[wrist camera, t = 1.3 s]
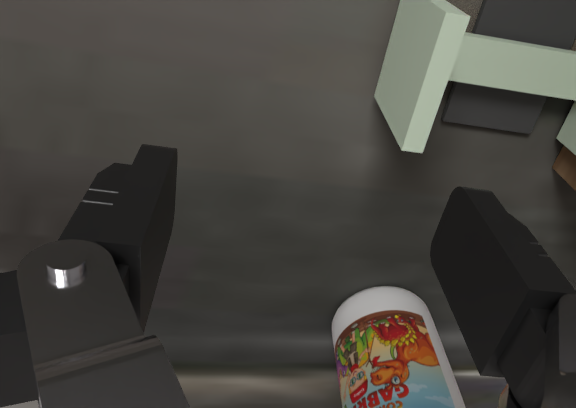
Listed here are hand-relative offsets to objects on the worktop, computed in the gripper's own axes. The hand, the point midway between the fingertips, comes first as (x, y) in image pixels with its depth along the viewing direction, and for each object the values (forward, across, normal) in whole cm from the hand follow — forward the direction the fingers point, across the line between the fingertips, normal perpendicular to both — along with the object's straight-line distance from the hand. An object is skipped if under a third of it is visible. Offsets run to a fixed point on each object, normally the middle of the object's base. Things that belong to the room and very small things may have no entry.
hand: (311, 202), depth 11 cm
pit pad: (+18, -13, 0) cm, 22 cm away
